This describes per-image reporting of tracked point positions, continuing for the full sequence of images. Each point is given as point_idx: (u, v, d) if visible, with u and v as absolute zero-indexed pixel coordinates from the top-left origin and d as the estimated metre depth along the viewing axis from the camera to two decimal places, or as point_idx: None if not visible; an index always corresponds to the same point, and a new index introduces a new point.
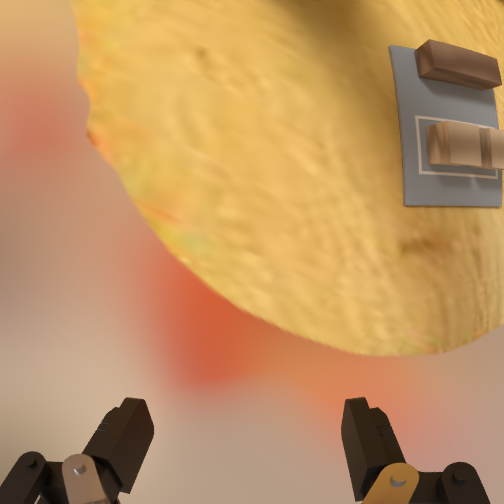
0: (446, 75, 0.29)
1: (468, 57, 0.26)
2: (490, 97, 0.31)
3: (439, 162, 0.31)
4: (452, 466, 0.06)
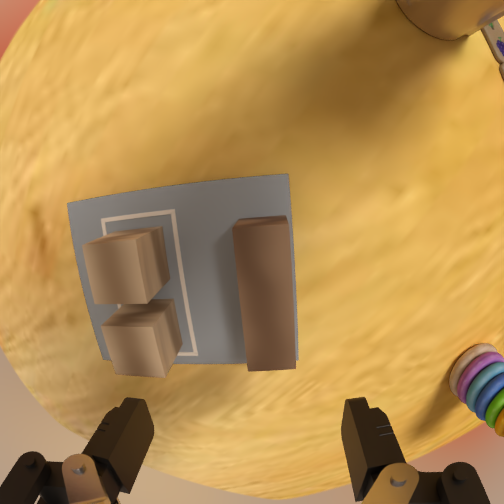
0: None
1: (277, 306, 0.23)
2: (245, 355, 0.30)
3: (99, 238, 0.25)
4: (451, 466, 0.06)
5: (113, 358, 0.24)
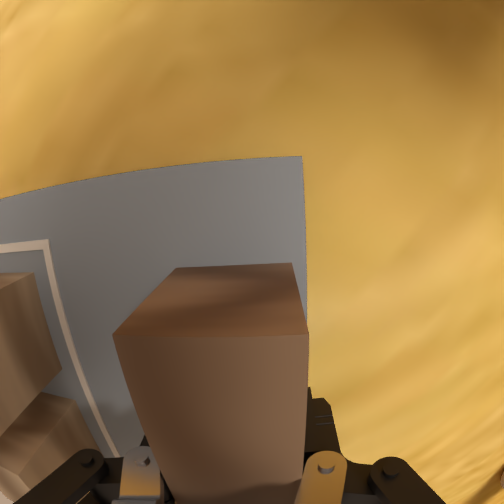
0: None
1: (258, 500, 0.07)
2: None
3: None
4: (378, 462, 0.07)
5: None
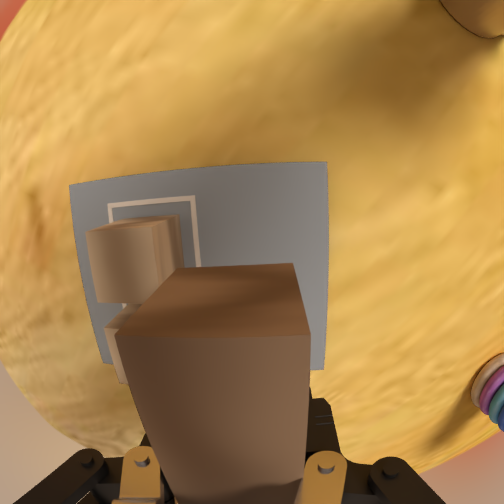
0: None
1: (260, 500, 0.07)
2: None
3: (106, 225, 0.21)
4: (378, 462, 0.07)
5: (117, 365, 0.21)
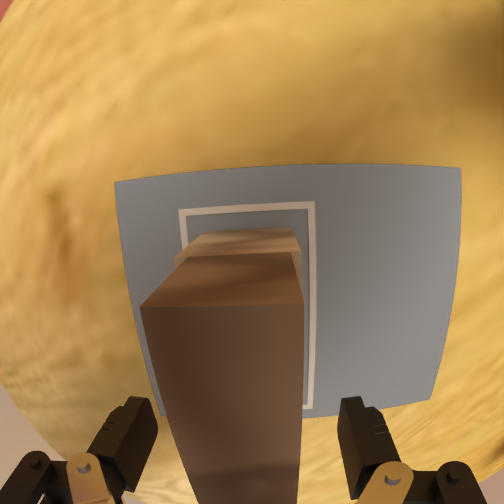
0: None
1: (262, 466, 0.09)
2: (374, 401, 0.20)
3: (193, 243, 0.15)
4: (446, 465, 0.06)
5: None
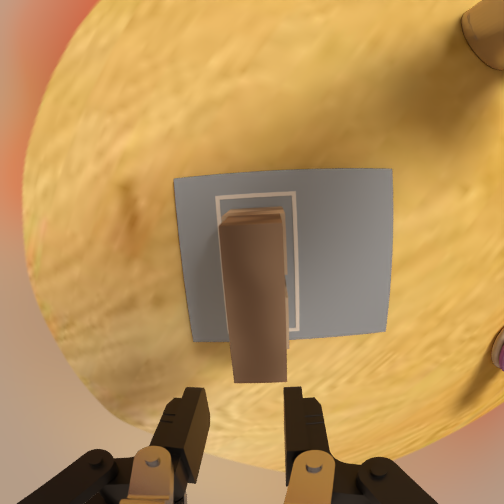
0: None
1: (267, 313, 0.21)
2: (342, 328, 0.33)
3: (227, 213, 0.27)
4: (366, 463, 0.07)
5: None
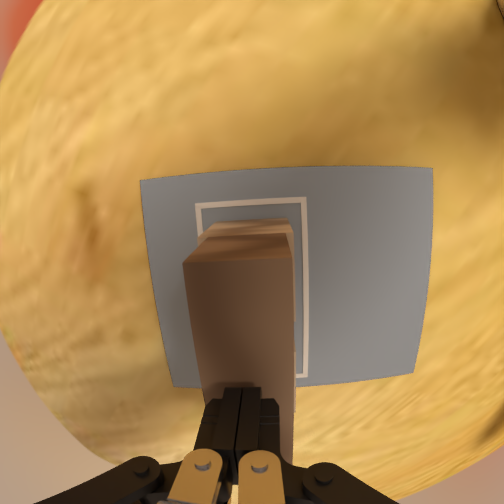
0: None
1: (265, 394, 0.13)
2: (362, 372, 0.24)
3: (209, 229, 0.19)
4: (308, 470, 0.07)
5: None
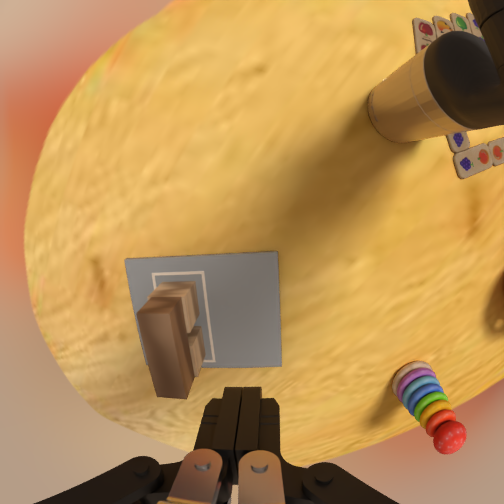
0: None
1: (168, 360, 0.34)
2: (246, 362, 0.46)
3: (155, 289, 0.40)
4: (308, 470, 0.07)
5: None
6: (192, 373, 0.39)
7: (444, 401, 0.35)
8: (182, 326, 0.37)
